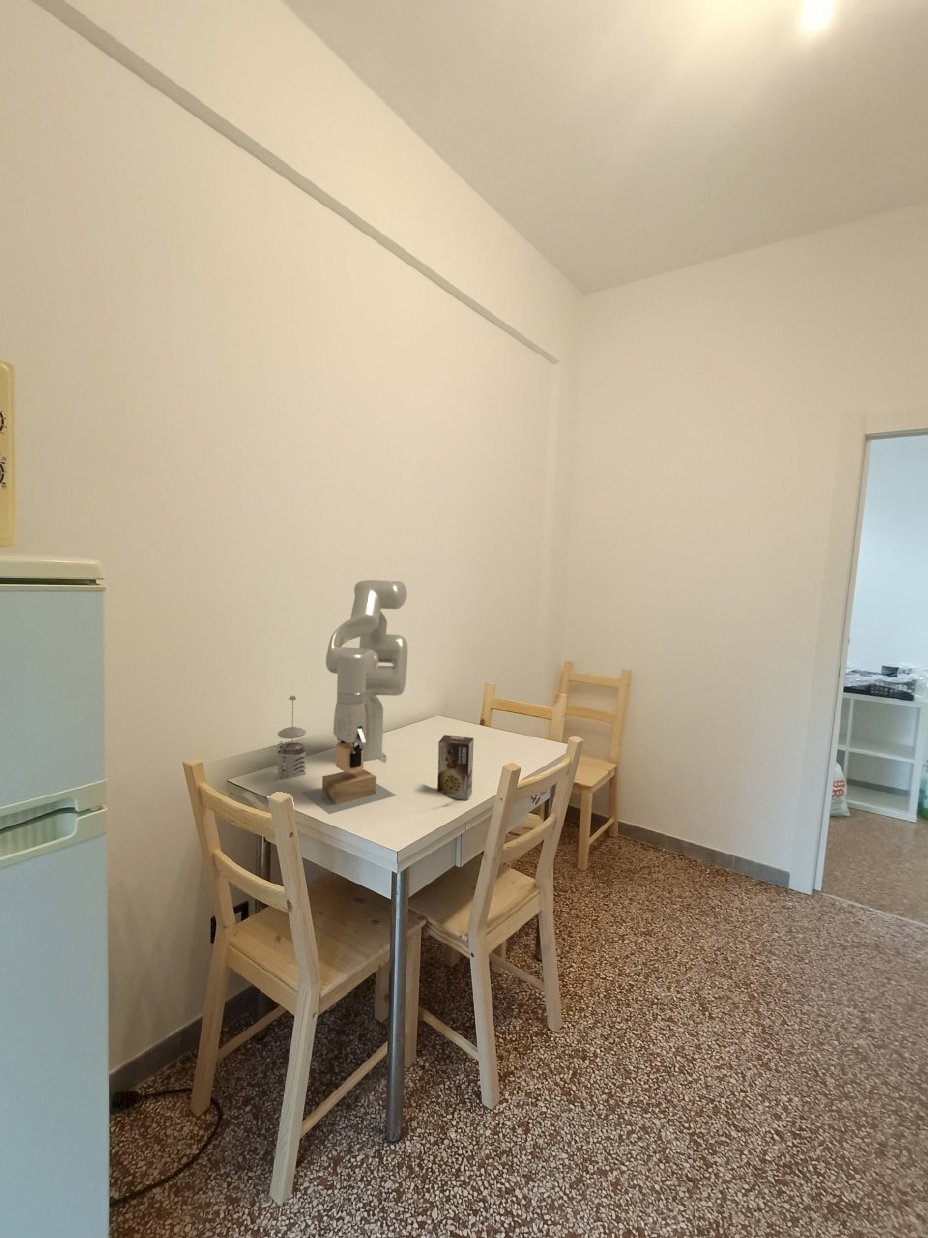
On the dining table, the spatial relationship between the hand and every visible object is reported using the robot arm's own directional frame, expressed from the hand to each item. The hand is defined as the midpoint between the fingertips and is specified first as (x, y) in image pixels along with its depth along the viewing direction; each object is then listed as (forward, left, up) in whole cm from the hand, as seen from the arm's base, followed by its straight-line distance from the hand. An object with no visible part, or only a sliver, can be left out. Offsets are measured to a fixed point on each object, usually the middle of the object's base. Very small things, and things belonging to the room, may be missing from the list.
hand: (349, 762), depth 148 cm
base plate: (0, 0, -10) cm, 10 cm away
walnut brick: (0, 0, -9) cm, 9 cm away
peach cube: (0, 0, -1) cm, 1 cm away
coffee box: (+14, +26, -11) cm, 31 cm away
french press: (-23, -7, -11) cm, 26 cm away
